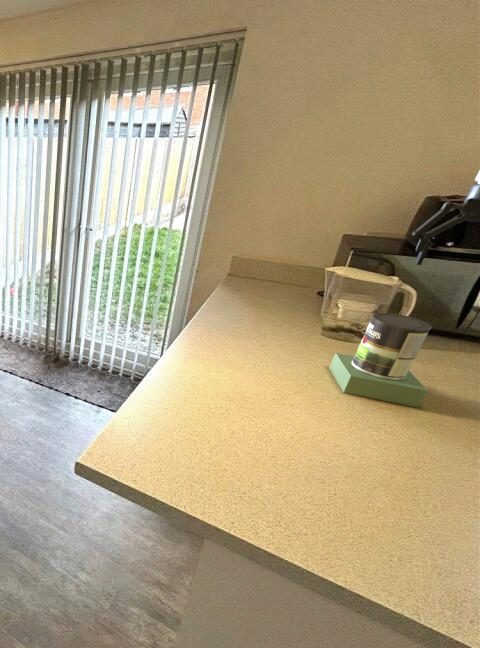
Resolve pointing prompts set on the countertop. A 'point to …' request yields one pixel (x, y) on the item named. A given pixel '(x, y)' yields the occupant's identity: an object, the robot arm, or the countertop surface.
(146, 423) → the countertop surface
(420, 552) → the countertop surface
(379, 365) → the coffee can
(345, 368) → the riser block
